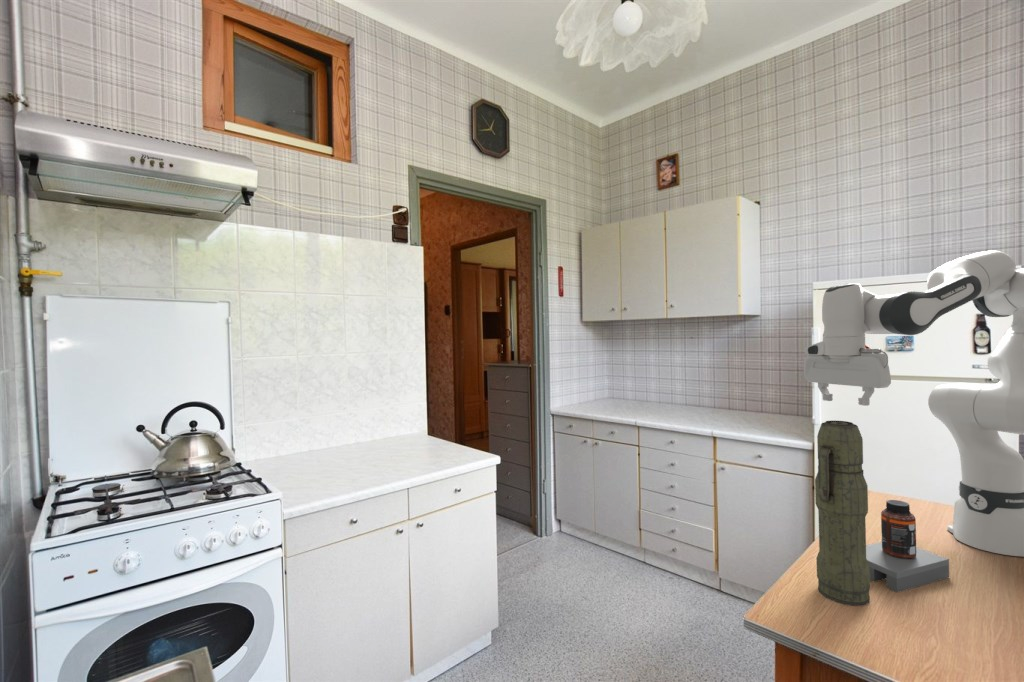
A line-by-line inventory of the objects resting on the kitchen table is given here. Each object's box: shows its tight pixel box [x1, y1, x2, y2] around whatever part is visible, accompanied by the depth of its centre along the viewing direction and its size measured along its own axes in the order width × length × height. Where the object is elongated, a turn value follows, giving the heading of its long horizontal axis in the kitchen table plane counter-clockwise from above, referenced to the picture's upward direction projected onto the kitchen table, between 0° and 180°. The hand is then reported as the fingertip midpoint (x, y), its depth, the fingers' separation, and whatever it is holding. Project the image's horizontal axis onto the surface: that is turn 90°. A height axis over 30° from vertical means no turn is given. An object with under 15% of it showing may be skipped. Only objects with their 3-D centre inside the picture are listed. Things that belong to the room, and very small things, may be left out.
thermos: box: [814, 420, 871, 607], centre depth 97 cm, size 9×12×35 cm
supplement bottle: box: [880, 499, 917, 559], centre depth 105 cm, size 6×6×11 cm
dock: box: [866, 541, 950, 593], centre depth 105 cm, size 16×11×4 cm
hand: (845, 402), depth 121 cm, fingers open, 8 cm apart
